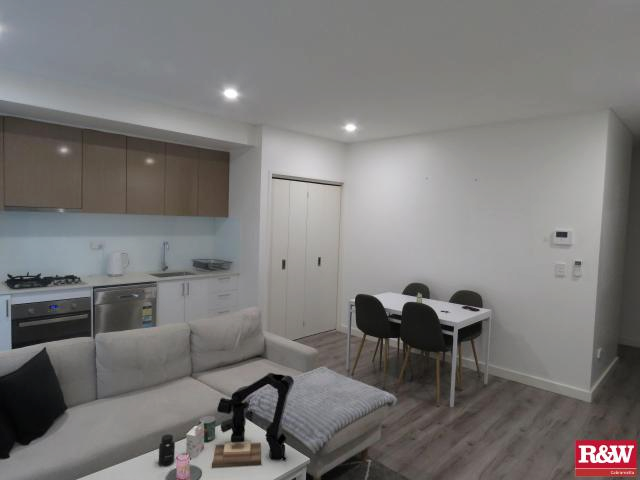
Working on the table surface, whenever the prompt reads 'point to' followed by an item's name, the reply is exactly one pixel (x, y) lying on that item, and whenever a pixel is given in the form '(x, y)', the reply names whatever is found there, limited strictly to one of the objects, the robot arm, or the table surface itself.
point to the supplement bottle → (166, 450)
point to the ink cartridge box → (195, 440)
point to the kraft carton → (236, 451)
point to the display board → (254, 461)
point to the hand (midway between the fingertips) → (238, 446)
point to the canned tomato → (208, 427)
